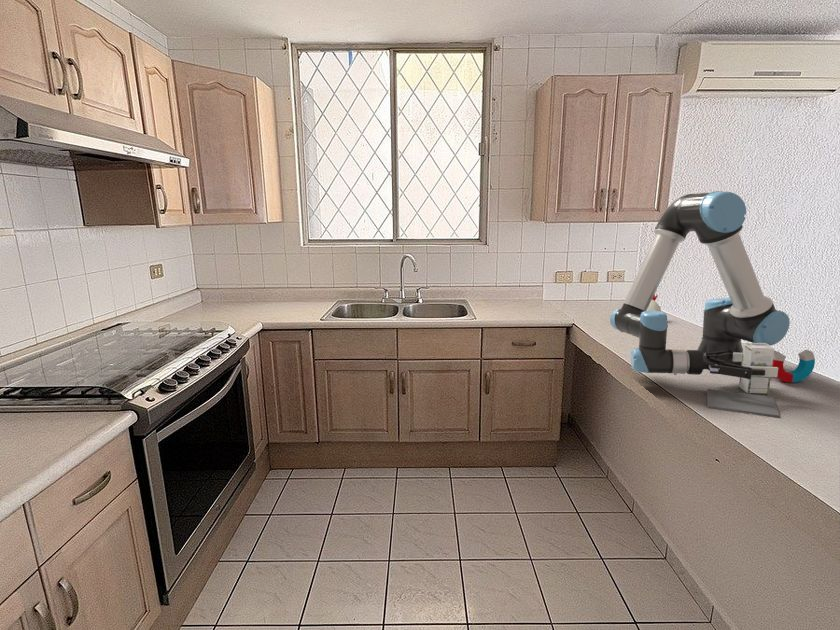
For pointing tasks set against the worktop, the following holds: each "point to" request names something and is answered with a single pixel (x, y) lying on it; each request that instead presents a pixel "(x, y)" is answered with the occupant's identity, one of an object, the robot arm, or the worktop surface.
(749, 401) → the rubber mat
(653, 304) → the cream beanie hat
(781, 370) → the magnet
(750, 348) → the syrup box
